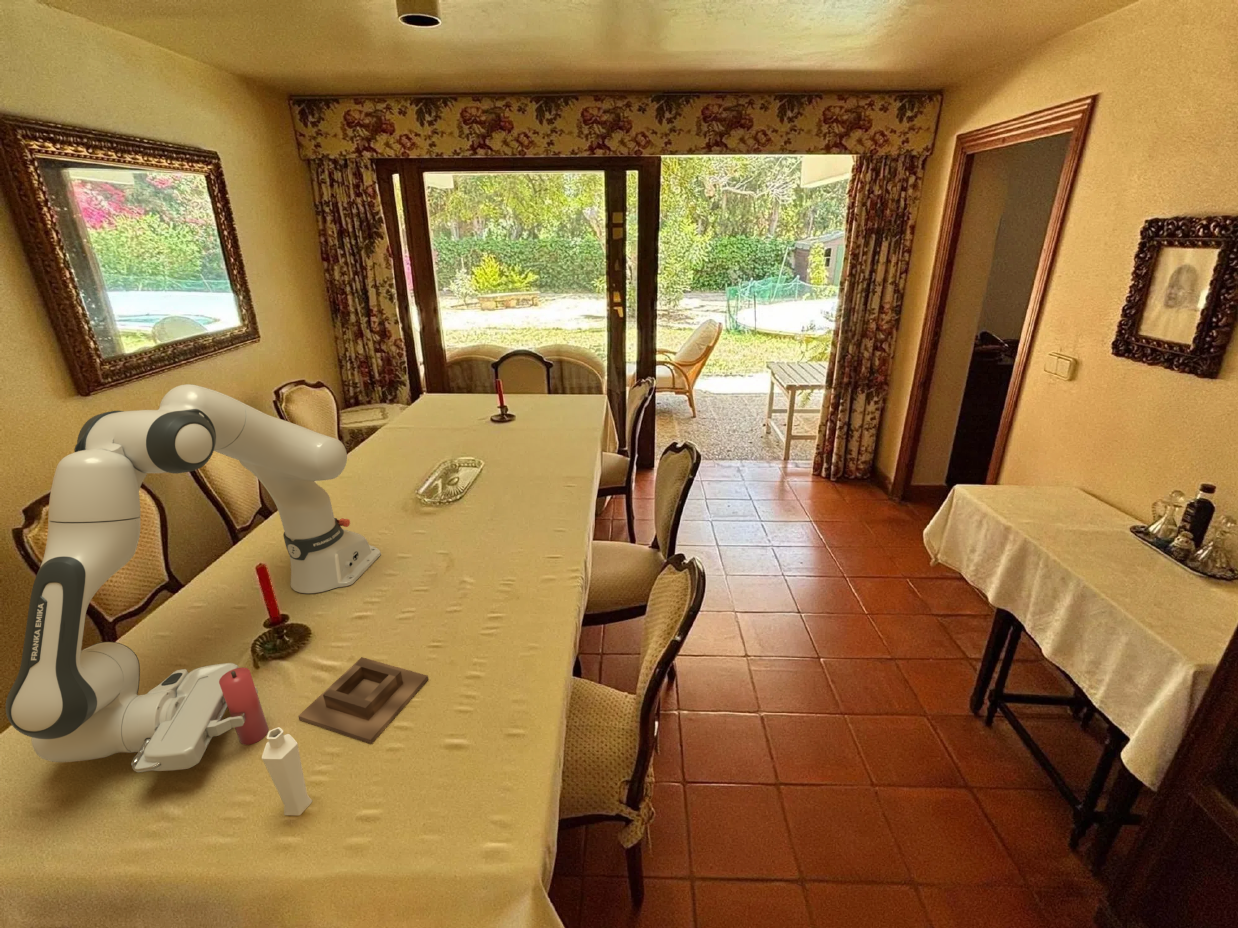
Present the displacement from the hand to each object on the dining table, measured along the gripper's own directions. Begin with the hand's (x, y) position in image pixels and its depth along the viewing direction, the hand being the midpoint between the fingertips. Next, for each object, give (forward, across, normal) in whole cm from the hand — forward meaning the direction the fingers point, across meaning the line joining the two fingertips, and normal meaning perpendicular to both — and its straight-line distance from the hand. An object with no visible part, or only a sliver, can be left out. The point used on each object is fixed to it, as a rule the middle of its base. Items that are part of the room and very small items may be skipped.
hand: (250, 705), depth 99 cm
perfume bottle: (+10, -16, +7) cm, 20 cm away
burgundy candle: (-1, 0, +6) cm, 7 cm away
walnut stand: (+17, +4, +6) cm, 19 cm away
